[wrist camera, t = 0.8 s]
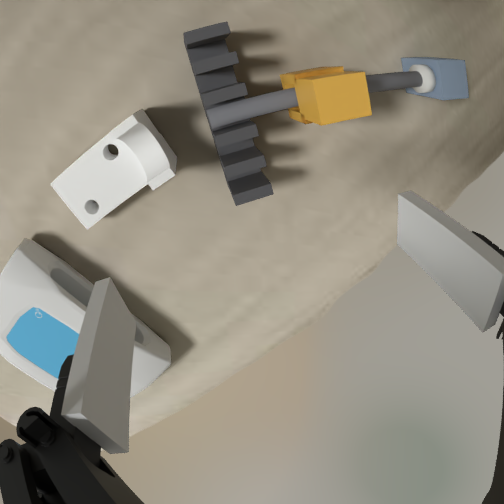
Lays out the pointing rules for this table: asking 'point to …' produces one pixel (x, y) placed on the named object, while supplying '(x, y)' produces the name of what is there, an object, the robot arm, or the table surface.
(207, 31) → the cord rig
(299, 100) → the yellow notched block
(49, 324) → the document scanner
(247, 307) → the table surface
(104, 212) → the bracket
